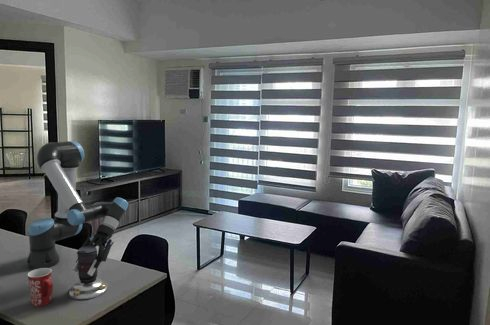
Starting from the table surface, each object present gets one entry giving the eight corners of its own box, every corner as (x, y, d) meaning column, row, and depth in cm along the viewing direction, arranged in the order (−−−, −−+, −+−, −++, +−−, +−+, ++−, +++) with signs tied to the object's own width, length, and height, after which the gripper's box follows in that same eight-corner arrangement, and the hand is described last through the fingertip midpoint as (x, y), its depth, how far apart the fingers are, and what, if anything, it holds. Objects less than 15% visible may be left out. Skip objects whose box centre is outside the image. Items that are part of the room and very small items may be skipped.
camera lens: (90, 285, 158) (89, 253, 156) (74, 283, 160) (73, 251, 158) (101, 277, 166) (100, 246, 164) (86, 275, 168) (85, 245, 166)
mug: (25, 303, 152) (23, 273, 150) (46, 294, 159) (45, 265, 157) (39, 313, 145) (38, 281, 143) (61, 303, 152) (60, 273, 150)
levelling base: (78, 282, 171) (78, 275, 171) (112, 282, 172) (112, 275, 171) (62, 299, 155) (62, 291, 155) (100, 299, 156) (99, 292, 156)
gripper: (128, 234, 171) (105, 280, 158) (94, 228, 178) (69, 271, 166) (120, 227, 165) (95, 274, 153) (86, 220, 173) (59, 265, 160)
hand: (82, 272), depth 159 cm, fingers closed on camera lens, 8 cm apart
